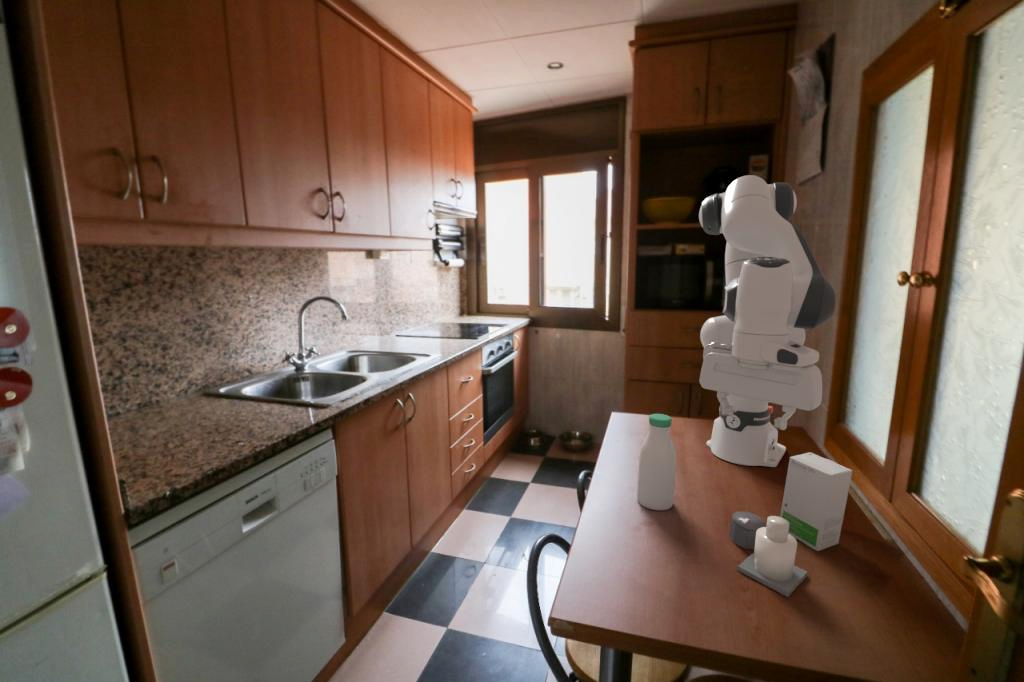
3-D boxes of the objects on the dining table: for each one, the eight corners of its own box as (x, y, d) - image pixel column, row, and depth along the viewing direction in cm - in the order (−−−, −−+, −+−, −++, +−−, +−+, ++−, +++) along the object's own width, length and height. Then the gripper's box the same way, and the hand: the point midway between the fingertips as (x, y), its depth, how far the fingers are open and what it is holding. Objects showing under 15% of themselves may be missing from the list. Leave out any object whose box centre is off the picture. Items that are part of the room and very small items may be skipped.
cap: (738, 528, 90) (740, 506, 89) (767, 541, 86) (770, 519, 85) (725, 538, 87) (727, 516, 86) (754, 553, 82) (757, 529, 82)
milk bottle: (675, 513, 95) (682, 424, 92) (638, 509, 97) (643, 421, 93) (670, 495, 103) (676, 412, 99) (635, 491, 104) (640, 409, 100)
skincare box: (777, 528, 90) (786, 455, 87) (799, 521, 93) (808, 450, 90) (819, 553, 82) (830, 474, 80) (842, 544, 85) (853, 468, 82)
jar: (758, 552, 83) (763, 503, 81) (806, 575, 76) (814, 523, 75) (737, 570, 78) (742, 518, 76) (788, 597, 72) (795, 541, 70)
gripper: (695, 342, 87) (691, 411, 89) (816, 358, 71) (807, 441, 73) (712, 339, 91) (707, 405, 93) (830, 354, 75) (821, 433, 77)
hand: (752, 421), depth 83 cm, fingers open, 8 cm apart
